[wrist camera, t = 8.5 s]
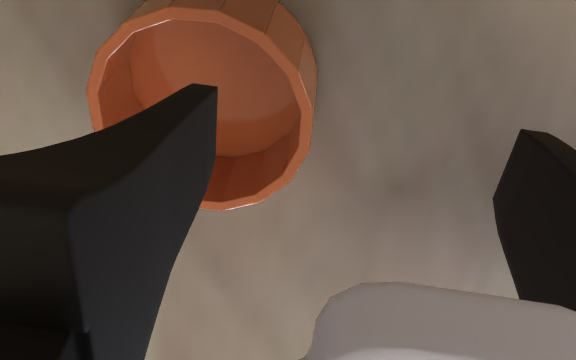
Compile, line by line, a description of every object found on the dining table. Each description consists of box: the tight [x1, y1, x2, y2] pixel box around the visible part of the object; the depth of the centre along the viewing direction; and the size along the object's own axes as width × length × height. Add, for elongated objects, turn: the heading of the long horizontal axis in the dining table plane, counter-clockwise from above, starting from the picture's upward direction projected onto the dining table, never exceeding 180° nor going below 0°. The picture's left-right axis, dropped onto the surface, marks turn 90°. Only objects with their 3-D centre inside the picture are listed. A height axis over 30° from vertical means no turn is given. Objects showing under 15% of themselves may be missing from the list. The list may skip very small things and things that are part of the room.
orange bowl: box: [86, 0, 318, 211], centre depth 22 cm, size 8×8×4 cm
